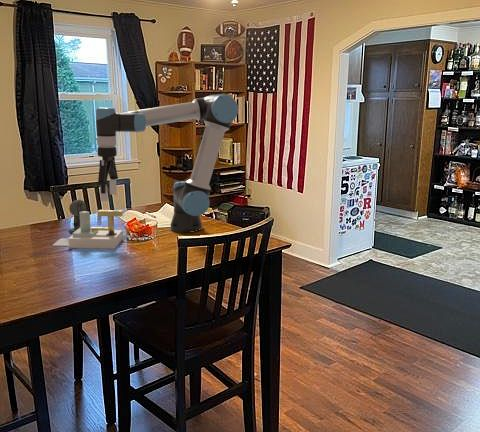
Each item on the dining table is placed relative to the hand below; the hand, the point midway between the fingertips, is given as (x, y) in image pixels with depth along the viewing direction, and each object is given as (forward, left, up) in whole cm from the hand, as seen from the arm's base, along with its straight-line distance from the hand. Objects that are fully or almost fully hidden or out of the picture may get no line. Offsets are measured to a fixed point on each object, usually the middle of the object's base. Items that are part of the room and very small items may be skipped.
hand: (108, 197), depth 197 cm
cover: (+11, 0, -16) cm, 19 cm away
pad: (+20, 0, -20) cm, 28 cm away
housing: (+6, 0, -20) cm, 21 cm away
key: (+2, 0, -16) cm, 16 cm away
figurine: (+20, -17, -20) cm, 33 cm away
